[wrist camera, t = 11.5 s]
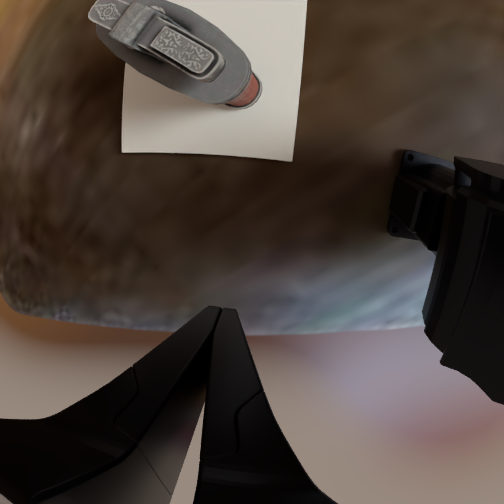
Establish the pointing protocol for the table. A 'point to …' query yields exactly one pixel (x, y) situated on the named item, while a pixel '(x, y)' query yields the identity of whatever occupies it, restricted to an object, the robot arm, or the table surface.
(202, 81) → the lighter
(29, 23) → the table surface
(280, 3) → the coaster
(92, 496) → the robot arm
